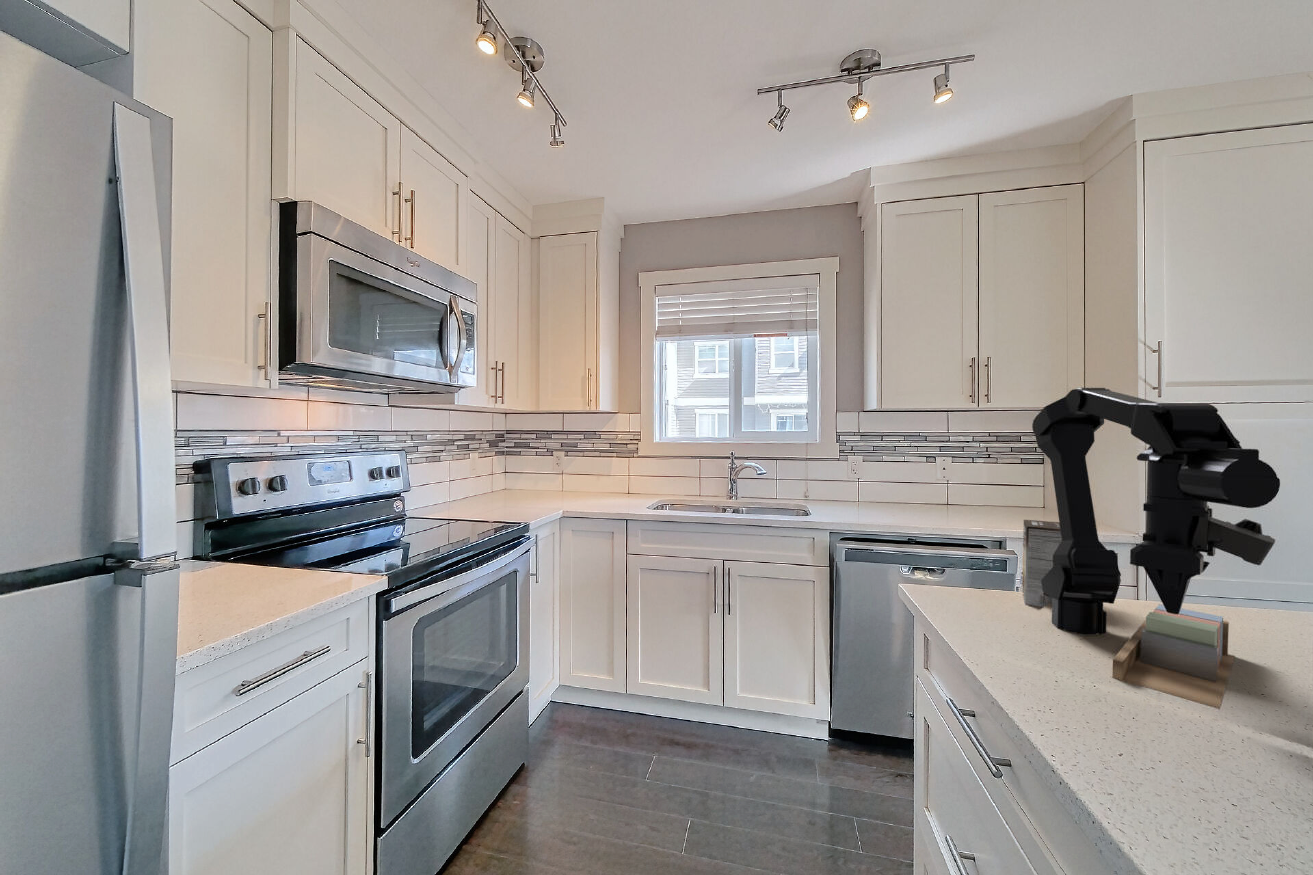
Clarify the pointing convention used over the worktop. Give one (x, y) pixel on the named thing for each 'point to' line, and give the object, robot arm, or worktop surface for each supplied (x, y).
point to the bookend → (1179, 654)
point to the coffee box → (1038, 558)
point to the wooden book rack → (1172, 673)
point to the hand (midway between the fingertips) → (1173, 613)
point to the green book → (1182, 628)
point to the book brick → (1197, 621)
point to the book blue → (1201, 616)
